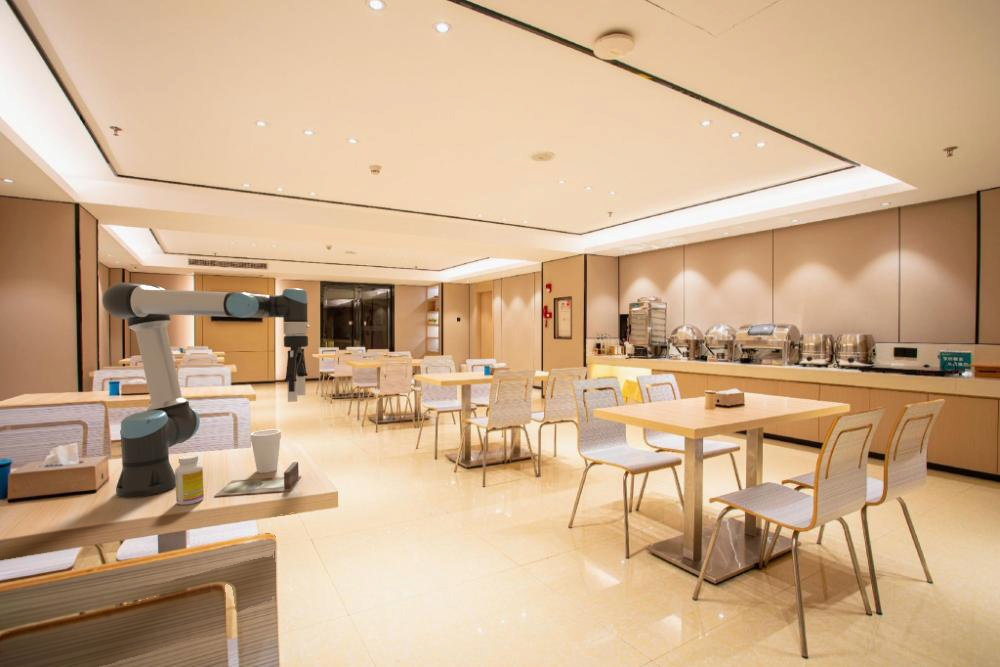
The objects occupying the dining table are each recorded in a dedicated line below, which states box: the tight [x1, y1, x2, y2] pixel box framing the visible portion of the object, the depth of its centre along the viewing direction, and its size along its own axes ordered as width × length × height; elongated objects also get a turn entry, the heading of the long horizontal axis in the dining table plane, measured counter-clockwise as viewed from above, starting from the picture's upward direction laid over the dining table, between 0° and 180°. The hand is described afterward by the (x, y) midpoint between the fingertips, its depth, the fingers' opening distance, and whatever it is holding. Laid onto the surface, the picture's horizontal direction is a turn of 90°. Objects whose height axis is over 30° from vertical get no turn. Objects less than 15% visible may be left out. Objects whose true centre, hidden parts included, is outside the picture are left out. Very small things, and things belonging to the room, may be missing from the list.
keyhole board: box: [213, 461, 302, 498], centre depth 152 cm, size 21×14×5 cm, turn 99°
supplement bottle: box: [174, 454, 205, 506], centre depth 141 cm, size 7×7×13 cm
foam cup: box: [250, 428, 282, 474], centre depth 169 cm, size 10×9×13 cm
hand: (297, 398), depth 166 cm, fingers open, 13 cm apart
